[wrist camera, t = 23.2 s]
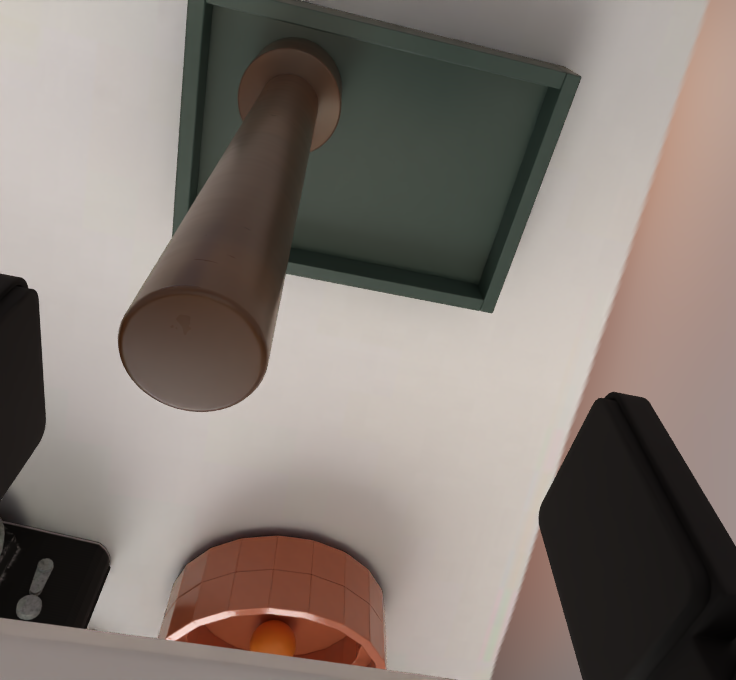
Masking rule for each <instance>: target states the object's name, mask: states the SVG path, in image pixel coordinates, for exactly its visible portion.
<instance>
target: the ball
mask: <svg viewBox="0 0 736 680" xmlns="http://www.w3.org/2000/svg"><path fill="white" fill-rule="evenodd" d="M249 648H250V651H254V652H261V653H268V654H276V655H283V656H290V657H293V655H294V653H295V649H296V639H295V635H294V633H293V631H292V629H291V628H290V627H289V626H288V625H287V624H286V623H284V622H282V621H279V620H269V621H266V622H264V623H262V624H261V625H260V626H258V627H257V628H256V630H255V631H254V633H253V634H252V637H251V640H250V646H249Z"/></svg>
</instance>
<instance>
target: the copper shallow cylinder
mask: <svg viewBox="0 0 736 680" xmlns="http://www.w3.org/2000/svg"><path fill="white" fill-rule="evenodd" d="M269 620H279V621H282V622H284V623H286V624H287V625H288V626H289V627H290V628H291V629H292V631H293V633H294V635H295V639H296V649H295V653H294V655H293V657H298V658H305V659H312V660H319V661H327V662H334V663H341V664H348V665H356V666H363V667H370V668H377V669H385V670H387V649H386V626H385V608H384V600H383V592H382V589H381V588H380V586H379V585H378V583H377V582H376V580H375V579H374V577H373V576H372V574H371V573H370V571H369V570H368V569H367V568H366V567H365V566H363V565H362V564H361V563H359V562H358V561H356V560H355V559H354V558H352V557H351V556H350V555H348V554H347V553H345V552H343V551H341V550H338V549H335V548H333V547H330V546H327V545H325V544H322V543H320V542H317V541H313V540H308V539H301V538H293V537H286V536H264V537H251V538H240V539H237V540H234V541H231V542H228V543H225V544H222V545H219V546H215V547H212V548H210V549H209V550H207V551H206V552H204V553H203V554H201V555H200V556H198V557H197V558H195V559H194V560H193V561H191V562H190V563H188V564H187V565H186V566H185V568H184V569H183V571H182V572H181V574H180V575H179V577H178V578H177V580H176V581H175V583H174V584H173V587H172V591H171V595H170V598H169V602H168V605H167V609H166V612H165V616H164V619H163V622H162V626H161V629H160V633H159V636H158V639H164V640H172V641H180V642H187V643H195V644H202V645H210V646H217V647H224V648H232V649H239V650H246V651H250V648H249V646H250V640H251V637H252V634H253V633H254V631H255V630H256V628H257V627H258V626H260V625H261V624H262V623H264V622H266V621H269Z"/></svg>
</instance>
